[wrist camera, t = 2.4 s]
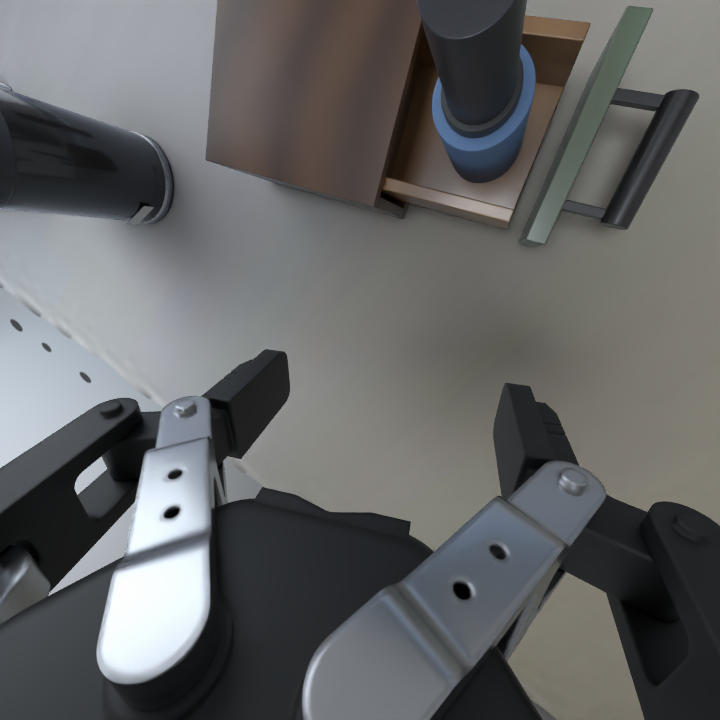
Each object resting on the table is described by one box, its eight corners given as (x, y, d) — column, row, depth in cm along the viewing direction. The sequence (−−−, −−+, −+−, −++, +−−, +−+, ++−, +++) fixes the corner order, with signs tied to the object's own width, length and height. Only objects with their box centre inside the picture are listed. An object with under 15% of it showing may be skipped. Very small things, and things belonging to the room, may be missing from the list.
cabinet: (454, 47, 26) (437, -41, 18) (403, 219, 31) (373, 207, 23) (292, 23, 29) (221, -58, 22) (270, 181, 34) (205, 159, 26)
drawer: (684, 85, 21) (759, 17, 15) (591, 263, 26) (620, 265, 20) (421, 46, 26) (398, -18, 20) (379, 204, 30) (350, 191, 24)
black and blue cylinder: (441, 175, 27) (368, 63, 11) (465, 100, 25) (416, -159, 9) (504, 190, 26) (520, 89, 10) (534, 113, 24) (613, -162, 8)
